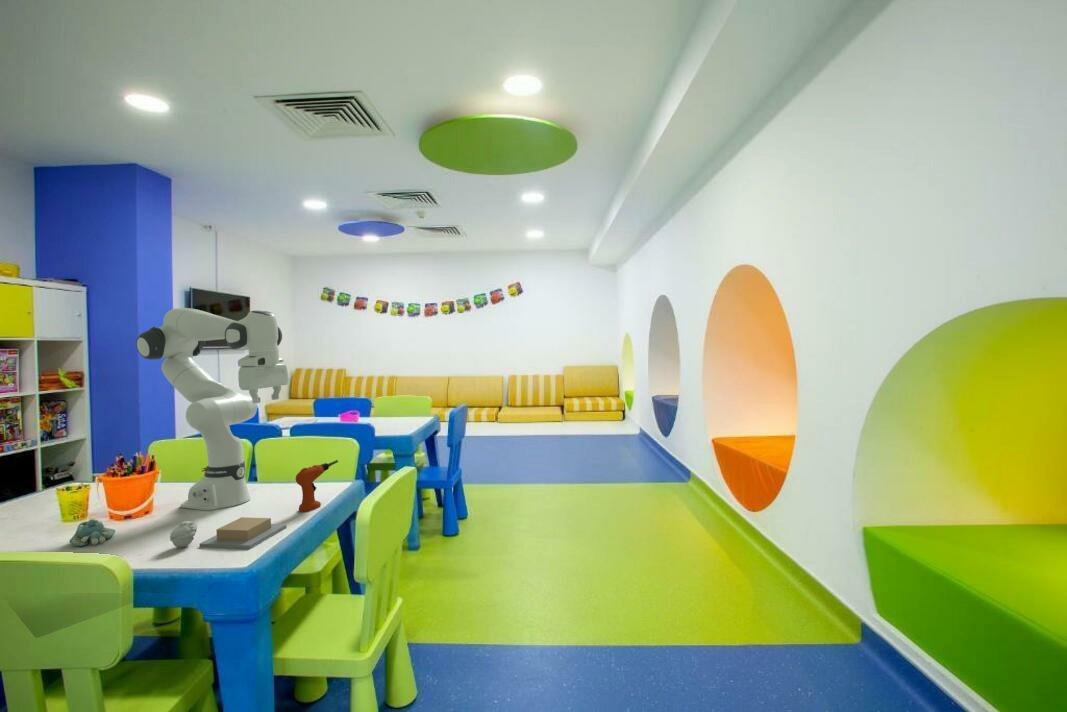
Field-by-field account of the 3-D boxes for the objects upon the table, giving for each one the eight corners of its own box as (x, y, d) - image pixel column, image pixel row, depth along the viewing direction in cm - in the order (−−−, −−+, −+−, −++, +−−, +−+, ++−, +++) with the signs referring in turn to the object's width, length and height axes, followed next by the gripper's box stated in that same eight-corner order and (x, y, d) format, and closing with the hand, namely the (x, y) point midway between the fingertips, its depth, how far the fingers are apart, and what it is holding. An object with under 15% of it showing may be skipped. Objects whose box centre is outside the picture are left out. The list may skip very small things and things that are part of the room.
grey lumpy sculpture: (203, 542, 148) (202, 518, 147) (181, 552, 141) (179, 527, 141) (186, 540, 149) (185, 517, 149) (164, 550, 142) (162, 526, 142)
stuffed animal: (75, 534, 143) (62, 518, 150) (75, 557, 144) (63, 541, 151) (122, 522, 152) (108, 508, 158) (122, 544, 153) (108, 529, 159)
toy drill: (347, 492, 188) (341, 453, 186) (306, 515, 171) (299, 473, 169) (337, 491, 190) (331, 452, 188) (295, 513, 173) (289, 471, 171)
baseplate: (199, 547, 144) (198, 533, 144) (240, 526, 160) (239, 513, 160) (250, 548, 142) (249, 534, 142) (286, 527, 158) (285, 514, 157)
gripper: (275, 358, 178) (277, 397, 179) (233, 361, 158) (235, 405, 158) (292, 358, 177) (294, 397, 178) (252, 360, 157) (254, 405, 157)
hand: (266, 401), depth 168 cm, fingers open, 8 cm apart
